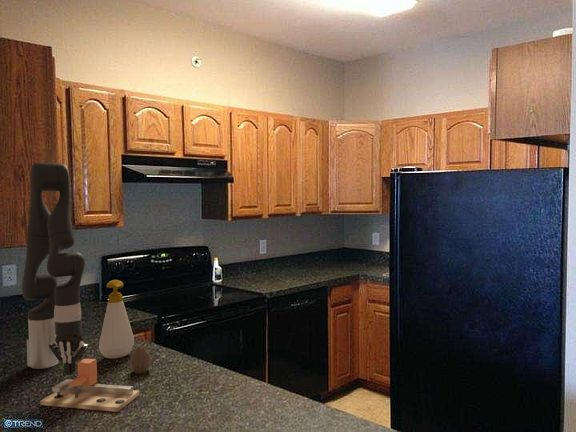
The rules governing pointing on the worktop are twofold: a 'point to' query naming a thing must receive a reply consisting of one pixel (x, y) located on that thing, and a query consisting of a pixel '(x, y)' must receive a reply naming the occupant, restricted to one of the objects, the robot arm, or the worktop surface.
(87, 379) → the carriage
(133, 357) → the vase
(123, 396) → the hole board
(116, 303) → the soap bottle
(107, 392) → the rail
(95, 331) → the worktop surface
